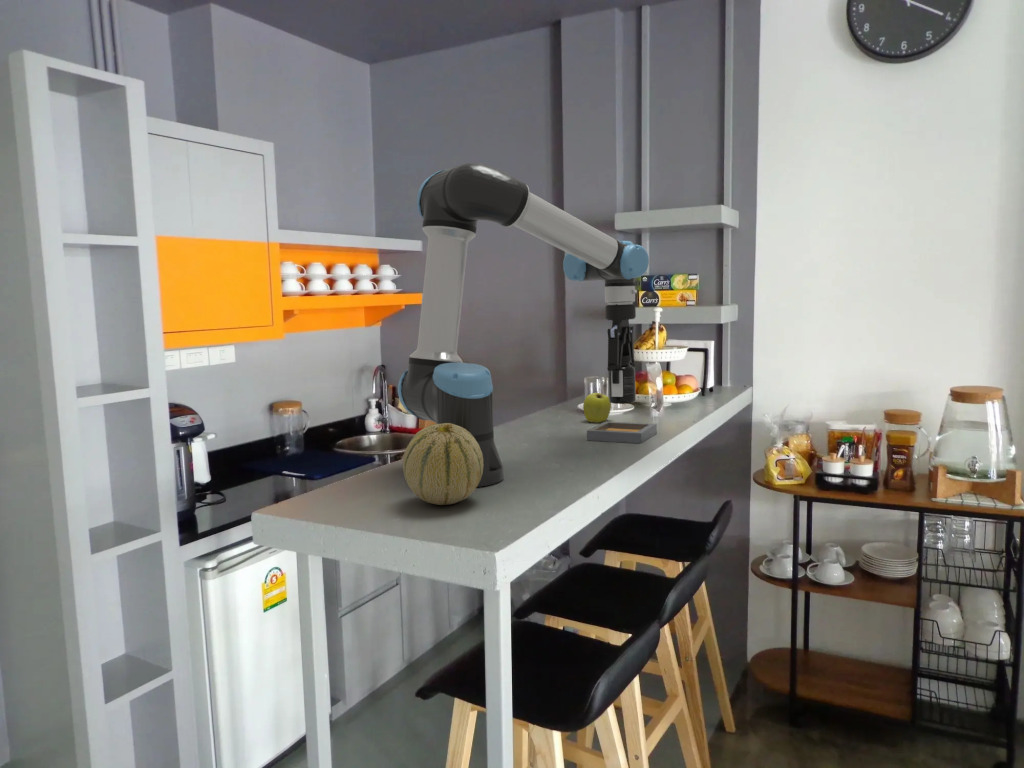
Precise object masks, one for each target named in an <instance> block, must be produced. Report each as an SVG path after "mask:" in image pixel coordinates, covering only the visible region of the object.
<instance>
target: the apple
mask: <svg viewBox="0 0 1024 768" xmlns="http://www.w3.org/2000/svg"><path fill="white" fill-rule="evenodd" d="M598 390H601V389H600V388H598ZM582 406H583V414H584V417H585V418H586V419H585V420H586V421H588V422H590V423H597V424H598V423H603V422H605V421H608V420H607V419H608V418H609V415H610V412H611V408H612V403H610V402H609V395H606V394H605V393H604V394H603V393H600V392H592V393H590V394H588V395H587V396H586V397H585V398H584V401H583V405H582Z"/></svg>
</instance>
